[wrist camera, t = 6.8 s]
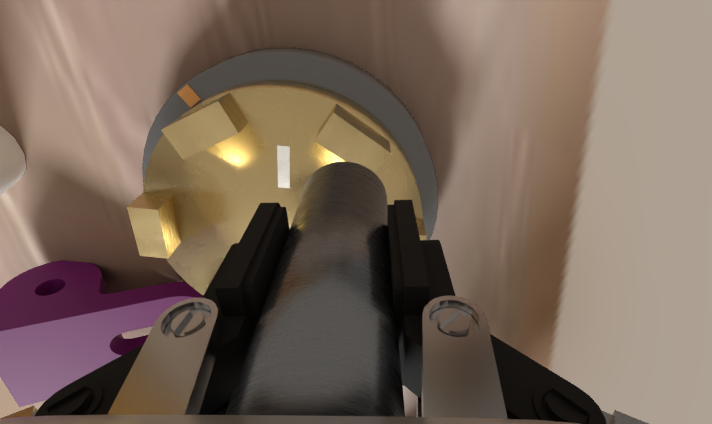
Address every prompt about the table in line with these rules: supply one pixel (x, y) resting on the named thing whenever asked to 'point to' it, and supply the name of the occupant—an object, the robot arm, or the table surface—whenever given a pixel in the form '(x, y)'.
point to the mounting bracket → (71, 325)
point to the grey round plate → (320, 73)
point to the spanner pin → (328, 309)
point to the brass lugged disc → (253, 168)
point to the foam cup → (10, 161)
